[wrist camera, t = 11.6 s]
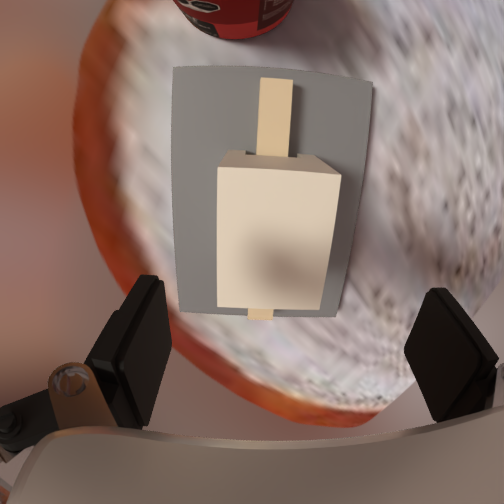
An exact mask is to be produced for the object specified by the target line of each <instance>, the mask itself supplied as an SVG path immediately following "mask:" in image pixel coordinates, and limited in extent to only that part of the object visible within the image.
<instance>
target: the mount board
mask: <svg viewBox="0 0 504 504" xmlns="http://www.w3.org/2000/svg"><path fill="white" fill-rule="evenodd" d="M372 86H373V82H370V81H365V80H360V79H355V78H350V77H344V76H338V75H332V74H325V73H318V72H311V71H302V70H293V69H283V68H270V67H253V66H186V67H173V84H172V117H171V175H172V209H173V231H174V248H175V263H176V276H177V288H178V299H179V309H180V312H191V313H206V314H224V315H245V316H248V319H251V320H272V319H273V316H275V317H336V314H337V310H338V306H339V302H340V298H341V294H342V289H343V285H344V280H345V276H346V271H347V267H348V262H349V257H350V252H351V247H352V242H353V236H354V231H355V226H356V220H357V214H358V208H359V202H360V196H361V189H362V182H363V175H364V168H365V160H366V152H367V143H368V134H369V124H370V113H371V101H372ZM228 150H246V153H245V155H265V156H281V157H295V158H297V154H308V155H315V156H316V157H317V158H319V159H320V160H322V161H323V162H324V163H326V164H327V165H329V166H330V167H331V168H333V169H334V170H335V171H337V172H338V173H339V174H341V182H340V190H339V198H338V205H337V212H336V219H335V225H334V232H333V238H332V244H331V250H330V256H329V262H328V267H327V273H326V278H325V283H324V289H323V294H322V299H321V304H320V309H319V310H288V309H254V308H230V307H217V169H218V166H219V164H220V162H221V161H222V159H223V157H224V156H225V154H226V153H227V151H228Z"/></svg>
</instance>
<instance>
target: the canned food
mask: <svg viewBox="0 0 504 504" xmlns="http://www.w3.org/2000/svg"><path fill="white" fill-rule="evenodd" d="M173 1H174V2H175V4H176V5H177V6H178V7H179V9H180V10H181V11H182V13H183V14H184V15H185V17H186V18H187V19H188V20H189V21H190V22H191V23H192V25H193V26H195V27H196V28H198V29H199V30H200V31H202V32H204V33H207V34H209V35H211V36H215V37H219V38H225V39H245V38H250V37H255V36H258V35H261V34H264V33H266V32H268V31H270V30H271V29H273V28H275V27H276V26H277V25H278V24H280V23H281V22H282V21H283V19H284V18H285V17H286V16H287V14H288V12H289V10H290V8H291V6H292V3H293V1H294V0H173Z"/></svg>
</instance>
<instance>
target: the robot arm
mask: <svg viewBox="0 0 504 504" xmlns="http://www.w3.org/2000/svg"><path fill="white" fill-rule="evenodd" d="M171 347H172V339H171V332H170V326H169V318H168V311H167V303H166V295H165V287H164V282H163V280H159V278H158V276H155V275H140V276H139V278H138V279H137V281H136V283H135V284H134V286H133V287H132V289H131V291H130V292H129V294H128V296H127V297H126V299H125V301H124V302H123V304H122V305H121V307H120V309H119V310H116V311H114V312H113V314H112V315H111V317H110V319H109V320H108V322H107V324H106V325H105V327H104V329H103V330H102V332H101V334H100V335H99V337H98V339H97V341H96V342H95V344H94V346H93V348H92V349H91V351H90V353H89V355H88V357H87V358H86V360H85V362H84V364H82V363H79V362H70V363H65V364H63V365H61V366H59V367H57V368H56V369H55V370H54V371H53V372H52V373H51V375H50V376H49V379H48V389H46V390H43V391H41V392H38V393H35V394H33V395H30V396H28V397H25V398H23V399H20V400H18V401H15V402H13V403H10V404H7V405H4V406H2V407H1V408H0V504H504V363H502V364H500V366H499V367H498V368H497V369H496V367H495V364H496V363H497V361H498V360H499V357H498V356H497V354H496V353H495V352H494V350H493V349H492V347H491V346H490V344H489V343H488V342H487V340H486V339H485V337H484V336H483V335H482V333H481V332H480V331H479V329H478V328H477V326H476V325H475V324H474V322H473V321H472V320H471V318H470V317H469V316H468V315H467V313H466V312H465V311H464V309H463V308H462V307H461V306H460V304H459V303H458V302H457V301H456V299H455V298H454V297H453V296H452V294H451V293H450V292H449V291H448V290H447V289H446V288H431V289H430V291H429V292H427V293H426V295H425V298H424V300H423V303H422V306H421V308H420V311H419V313H418V316H417V318H416V321H415V323H414V325H413V328H412V330H411V332H410V335H409V337H408V339H407V342H406V344H405V346H404V354H405V356H406V359H407V361H408V363H409V365H410V367H411V369H412V372H413V374H414V376H415V378H416V381H417V382H418V385H419V387H420V390H421V392H422V394H423V396H424V399H425V401H426V404H427V406H428V409H429V411H430V413H431V416H432V418H433V420H434V421H436V422H437V423H435V424H431V425H426V426H422V427H416V428H412V429H406V430H400V431H395V432H389V433H382V434H375V435H367V436H359V437H350V438H338V439H325V440H305V441H248V440H246V441H245V440H228V439H216V438H204V437H193V436H184V435H175V434H168V433H162V432H154V431H146V430H142V427H143V426H148V424H149V421H150V418H151V414H152V411H153V407H154V404H155V401H156V397H157V394H158V390H159V387H160V384H161V381H162V377H163V374H164V371H165V368H166V364H167V361H168V358H169V355H170V351H171Z"/></svg>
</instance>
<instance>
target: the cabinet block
mask: <svg viewBox="0 0 504 504" xmlns="http://www.w3.org/2000/svg"><path fill="white" fill-rule="evenodd" d="M245 153H246V150H228V151H227V153H226V154H225V156H224V157H223V159H222V161H221V162H220V164H219V166H218V169H217V307H230V308H254V309H288V310H319V309H320V304H321V299H322V294H323V289H324V283H325V278H326V273H327V267H328V262H329V256H330V250H331V244H332V238H333V232H334V225H335V219H336V212H337V205H338V198H339V190H340V182H341V174H339V173H338V172H337V171H335V170H334V169H333V168H331V167H330V166H329V165H327V164H326V163H324V162H323V161H322V160H320V159H319V158H317V157H316V156H315V155H308V154H297V158H295V157H281V156H265V155H245Z"/></svg>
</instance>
